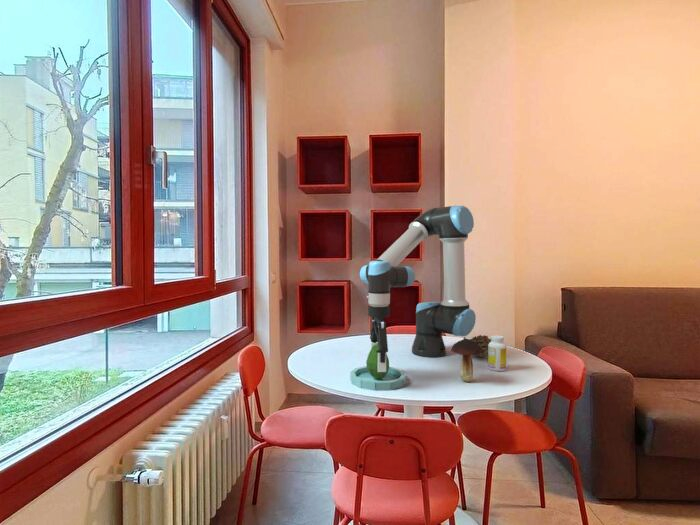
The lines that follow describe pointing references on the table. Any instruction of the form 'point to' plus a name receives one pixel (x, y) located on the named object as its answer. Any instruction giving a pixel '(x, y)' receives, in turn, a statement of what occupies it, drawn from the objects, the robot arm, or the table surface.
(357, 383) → the dish
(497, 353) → the supplement bottle
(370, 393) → the table surface
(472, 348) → the decorative mushroom
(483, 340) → the pine cone
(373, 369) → the avocado
